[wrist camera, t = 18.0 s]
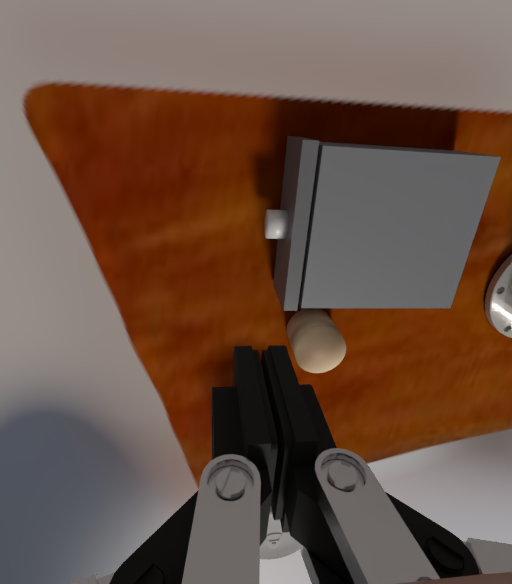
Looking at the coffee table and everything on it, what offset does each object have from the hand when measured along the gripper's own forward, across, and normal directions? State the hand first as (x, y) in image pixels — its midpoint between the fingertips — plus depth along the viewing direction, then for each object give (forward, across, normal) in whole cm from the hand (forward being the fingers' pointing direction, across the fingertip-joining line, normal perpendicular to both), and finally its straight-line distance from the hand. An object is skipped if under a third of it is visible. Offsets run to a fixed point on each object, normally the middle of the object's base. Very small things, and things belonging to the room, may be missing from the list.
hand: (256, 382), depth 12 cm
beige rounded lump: (+23, -10, +12) cm, 28 cm away
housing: (+23, -14, 0) cm, 27 cm away
